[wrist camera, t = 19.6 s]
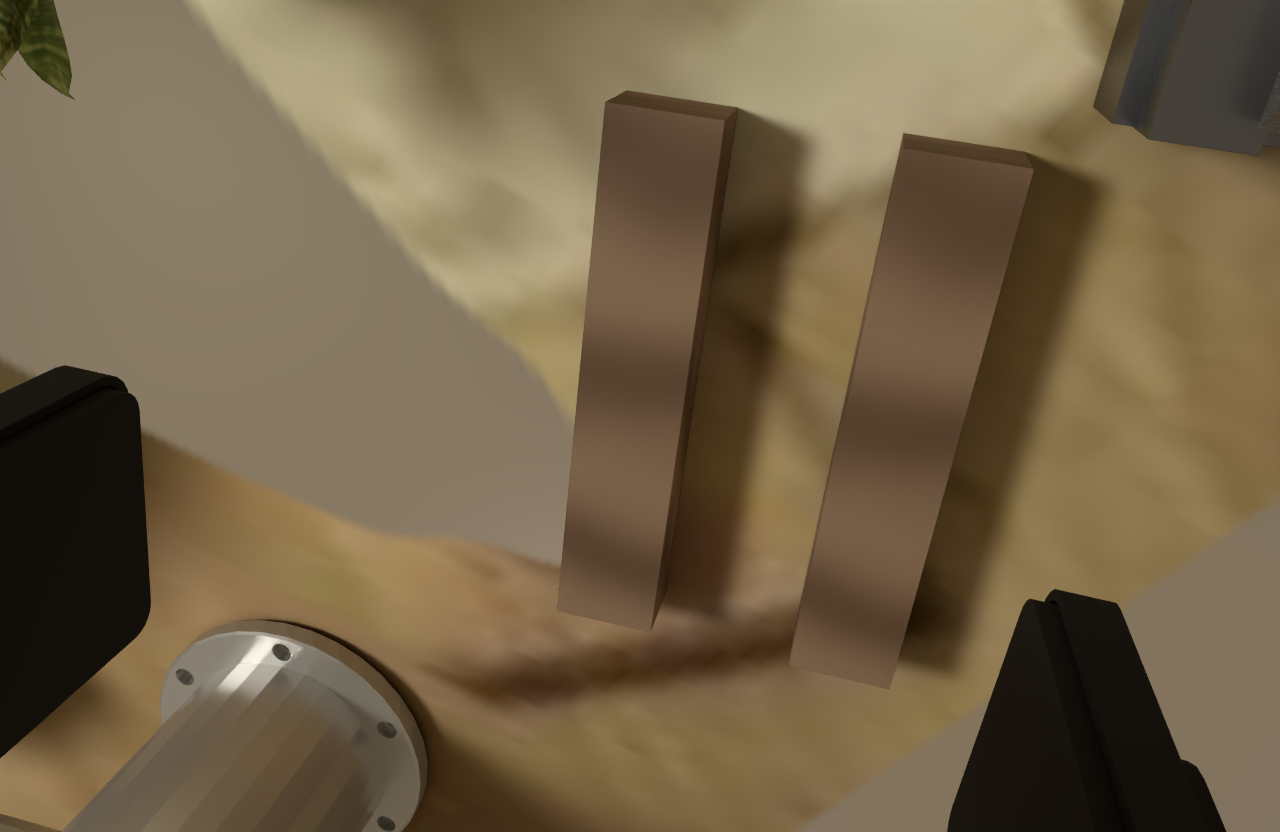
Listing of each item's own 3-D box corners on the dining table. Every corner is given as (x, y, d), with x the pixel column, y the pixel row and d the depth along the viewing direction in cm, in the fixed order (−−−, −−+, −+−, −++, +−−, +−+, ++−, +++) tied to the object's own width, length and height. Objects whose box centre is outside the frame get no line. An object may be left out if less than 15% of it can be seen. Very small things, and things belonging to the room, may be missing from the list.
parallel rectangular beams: (890, 644, 38) (889, 689, 36) (577, 571, 40) (557, 610, 38) (1024, 151, 30) (1034, 169, 28) (626, 90, 32) (605, 102, 30)
